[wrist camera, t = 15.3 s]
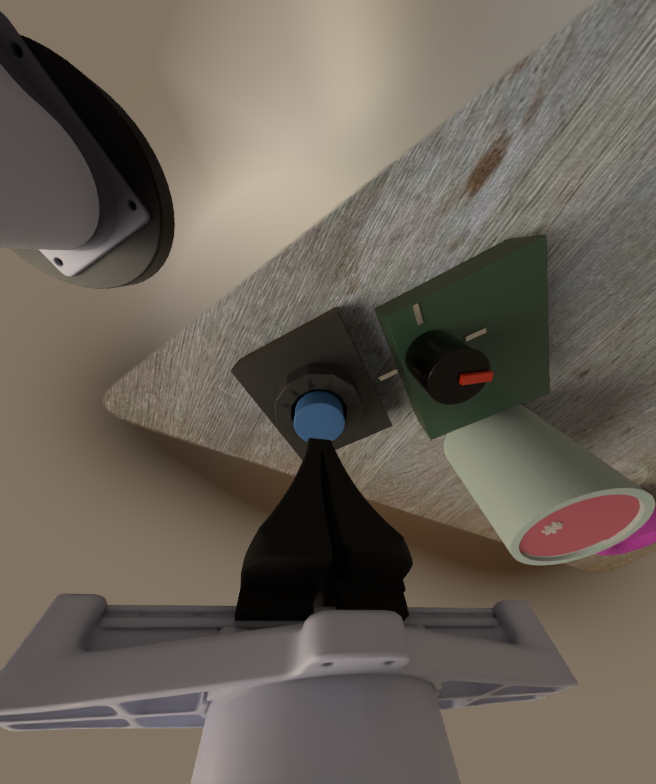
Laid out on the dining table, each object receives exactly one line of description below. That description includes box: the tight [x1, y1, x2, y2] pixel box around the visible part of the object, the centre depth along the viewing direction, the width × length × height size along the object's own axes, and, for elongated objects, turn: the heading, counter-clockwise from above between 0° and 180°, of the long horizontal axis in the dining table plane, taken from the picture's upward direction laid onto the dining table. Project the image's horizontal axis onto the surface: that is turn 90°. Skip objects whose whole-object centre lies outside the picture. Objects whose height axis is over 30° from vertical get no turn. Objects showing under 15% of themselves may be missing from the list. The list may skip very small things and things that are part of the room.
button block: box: [231, 307, 392, 460], centre depth 19 cm, size 11×9×4 cm
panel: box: [375, 235, 550, 440], centre depth 19 cm, size 12×12×3 cm
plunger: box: [294, 391, 345, 442], centre depth 17 cm, size 4×4×2 cm
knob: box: [405, 330, 494, 405], centre depth 15 cm, size 4×4×4 cm
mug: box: [443, 404, 655, 565], centre depth 21 cm, size 14×9×10 cm
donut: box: [596, 502, 656, 555], centre depth 31 cm, size 10×10×5 cm
